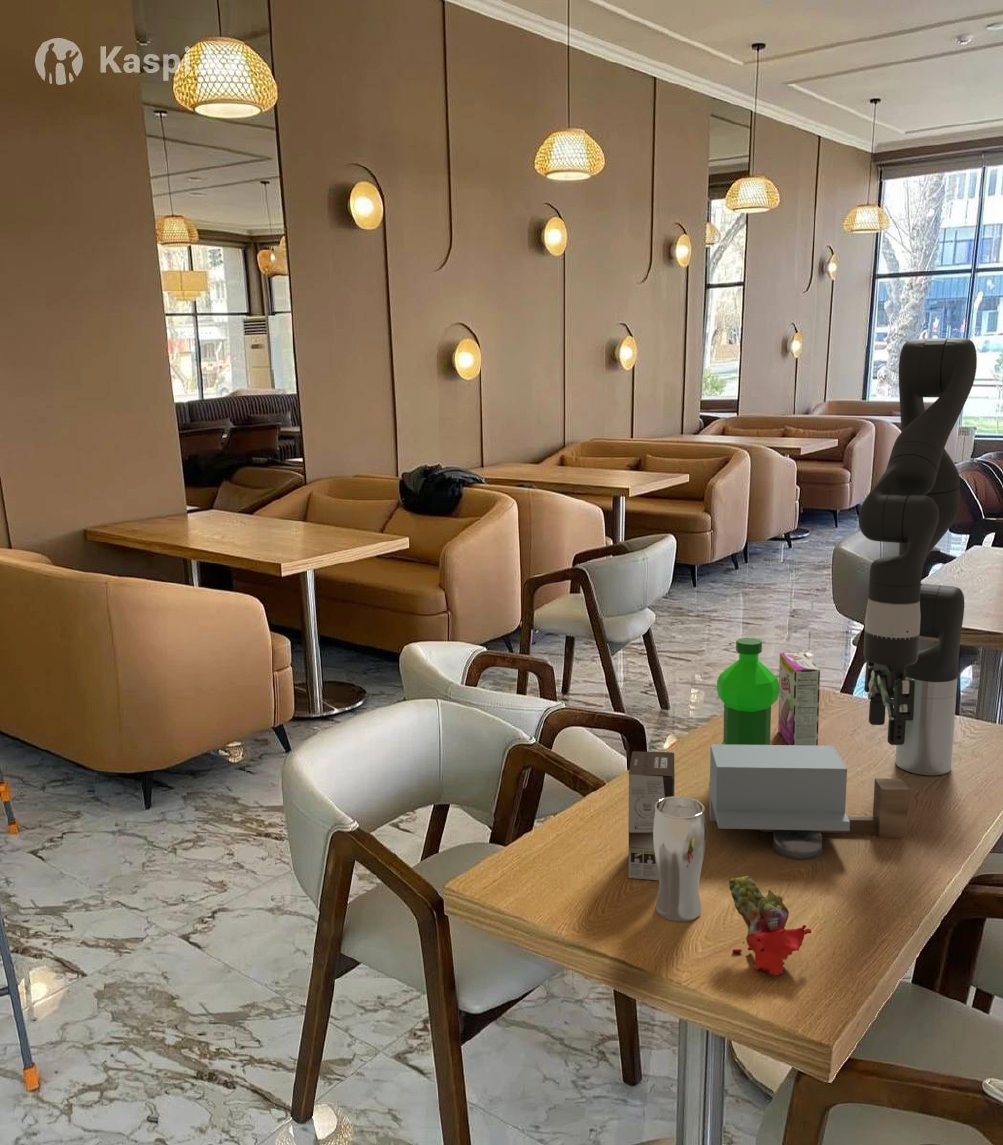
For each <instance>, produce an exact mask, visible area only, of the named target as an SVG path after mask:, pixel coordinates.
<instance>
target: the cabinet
mask: <svg viewBox="0 0 1003 1145" xmlns="http://www.w3.org/2000/svg"><path fill="white" fill-rule="evenodd" d="M709 748H710V755H709V762H710V763H709V815H708V816H709V821H710V822H716V826H717V828H718V829H725V830H726V829H727V830H729V829H730V830H732V829H735V830H737V829H738V830H761V829H771V830H823V831H850V821H849V819H848V817H847V816H848V815H847V813H846V800H847V779H848V768H847V766H846V765H845V762H844V761H843V759H842V758H841V756H840V755H839V753H838V751H837V750H836V748H835V746H834V745H818V746H815V745H788V744H784V745H783V744H776V745H775V744H770V745H722V743H721V744H719V743H718V744H714V743H713V744H710V747H709Z"/></svg>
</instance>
